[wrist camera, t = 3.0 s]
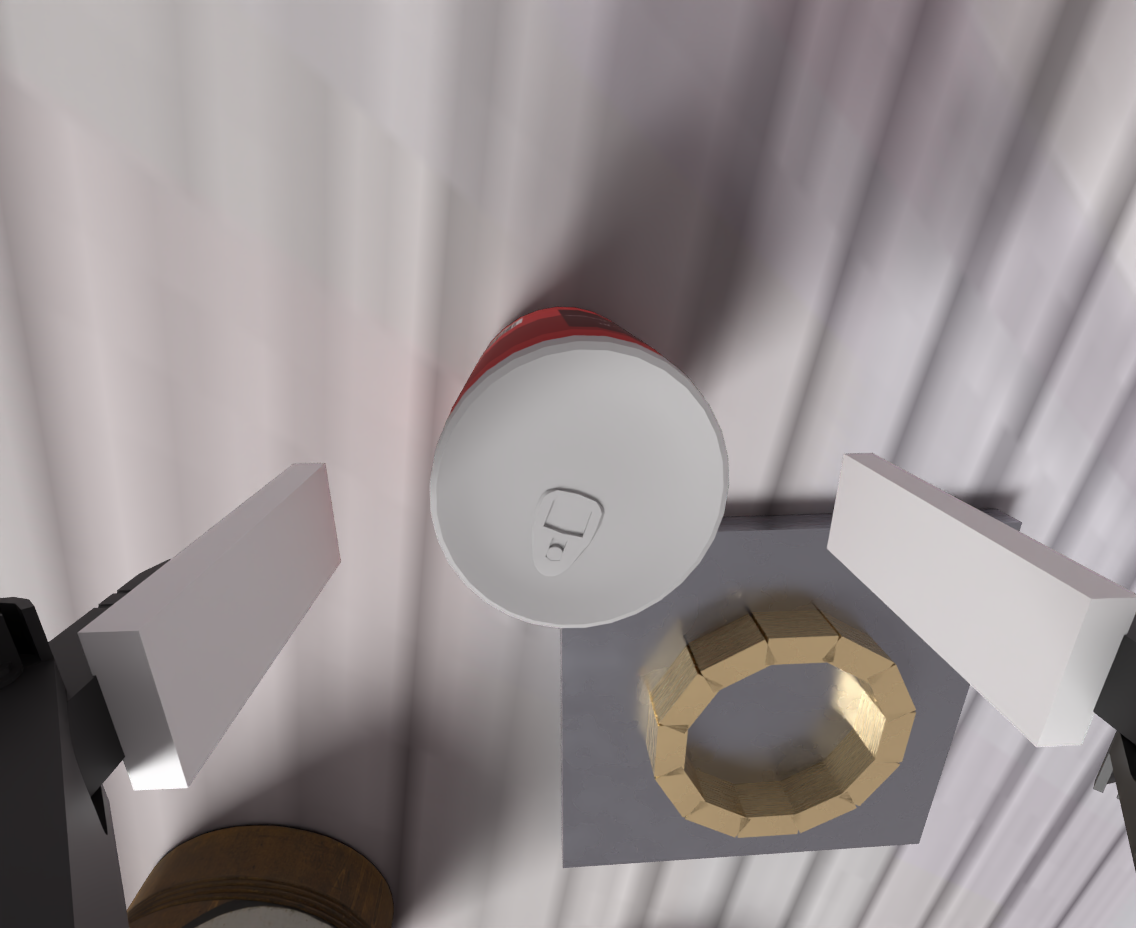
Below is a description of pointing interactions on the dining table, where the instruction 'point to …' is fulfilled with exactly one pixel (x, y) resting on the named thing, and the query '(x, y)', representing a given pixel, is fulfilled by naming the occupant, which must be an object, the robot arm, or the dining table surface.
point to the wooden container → (262, 883)
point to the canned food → (576, 473)
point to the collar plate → (753, 710)
